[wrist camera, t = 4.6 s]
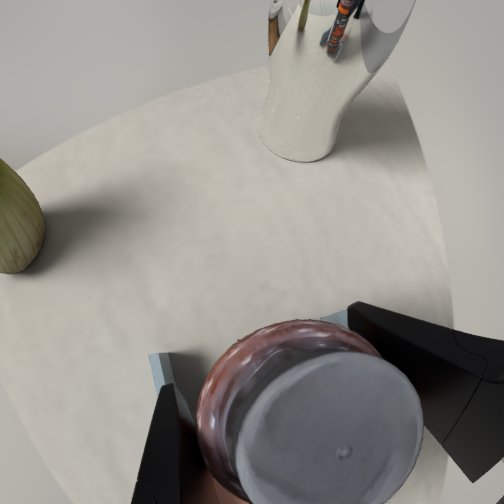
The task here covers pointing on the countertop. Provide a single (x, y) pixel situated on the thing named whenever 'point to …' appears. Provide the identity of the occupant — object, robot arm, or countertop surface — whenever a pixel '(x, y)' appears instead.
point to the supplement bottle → (308, 418)
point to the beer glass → (322, 68)
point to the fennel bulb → (18, 222)
